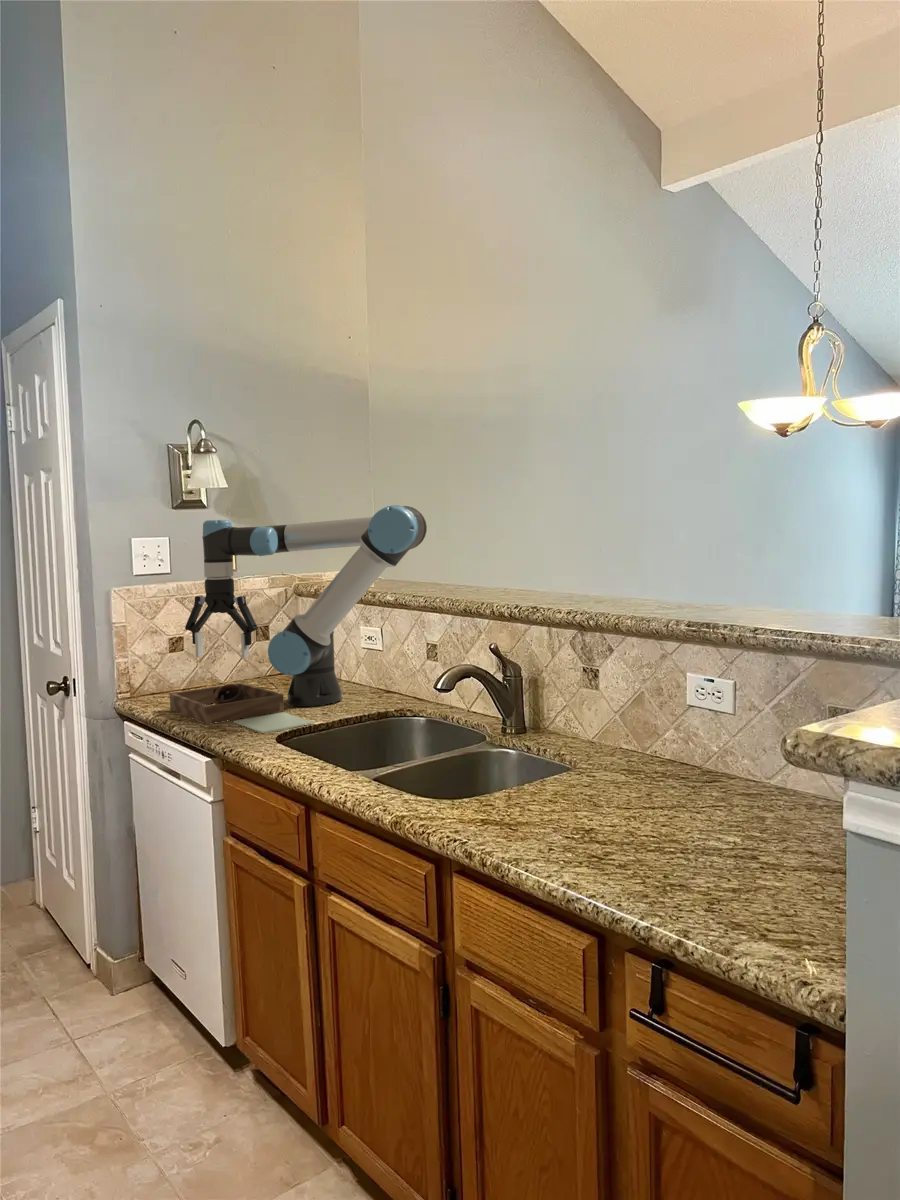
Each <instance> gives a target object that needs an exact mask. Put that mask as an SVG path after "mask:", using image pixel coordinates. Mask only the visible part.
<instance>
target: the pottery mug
mask: <svg viewBox="0 0 900 1200" xmlns="http://www.w3.org/2000/svg"><path fill="white" fill-rule="evenodd" d="M235 684H236V683H227V684H224V685H220V686H221V687H217V686H215V687H216V688H215V689H214V691H213V693H214V703H215V704H214V705H217V704H223V703H229V702H235V701H241V700H245V699H244V698H243V696H247V694H246V693H245V692H244V691H243V690H242V689H241V687H240V686H238V685H235ZM227 691H229V693H226V692H227Z"/></svg>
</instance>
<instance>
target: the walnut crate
mask: <svg viewBox="0 0 900 1200" xmlns="http://www.w3.org/2000/svg"><path fill="white" fill-rule="evenodd" d="M234 684H235V685H238V686H240V687H241V689H242V690H243V691H244V692H245V693H246V694H247V696H243V698H244V699H245V700H241V701H235V702H229V703H223V704H217V705H215V704H211V703H214V693H213V691H214V689H215V688H216V687H221V686H222V685H217V686H211V687H210V686H209V687H205V688H199V689H197V688H196V689H192V690H184V691H179V692H178V691H177V692H172V693H170V692H169V707H170V708H169V709H171V710H170V711H172V710H173V711H172V712H175V711H176V712H175V713H177V712H178V714H179V713H181V714H180V715H182V714H183V715H182V716H184V715H185V717H187V716H188V717H187V718H189V717H191V718H190V719H192V718H193V719H192V720H194V719H196V720H195V721H197V720H198V721H197V722H199V721H201V722H200V723H202V722H203V723H202V724H204V723H206V724H205V725H207V724H209V725H211V724H210V723H215V722H220V723H223V722H222V721H226V722H228V721H227V720H232V721H235V720H234V719H237V720H241V719H240V718H243V719H247V718H246V717H248V718H253V717H252V716H254V717H258V716H257V715H260V716H263V715H262V714H265V715H270V714H269V713H271V714H275V713H274V712H277V713H280V712H279V711H282V712H284V711H285V706H284V704H285V703H284V694H282V693H279V692H276V691H272V690H269V689H265V688H262V687H259V686H254V685H252V684H249V683H246V682H238V683H237V682H236V683H234ZM226 693H229V691H227V692H226ZM205 704H209V705H205ZM215 724H216V723H215Z"/></svg>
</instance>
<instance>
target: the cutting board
mask: <svg viewBox="0 0 900 1200" xmlns="http://www.w3.org/2000/svg"><path fill="white" fill-rule="evenodd" d="M235 723H237V724H236V725H238V724H239V725H238V726H240V725H242V726H241V727H243V726H245V727H244V728H246V727H247V728H246V729H248V728H250V729H249V730H251V729H252V730H251V731H253V730H255V731H254V732H256V731H258V732H257V733H259V732H260V733H259V734H261V733H266V734H270V733H275V732H280V731H285V730H284V729H287V730H290V729H289V728H292V729H294V728H293V727H297V728H299V727H298V726H301V725H305V724H311V723H314V721H311V720H307V719H305V718H301V717H298V716H296V715H294V714H289V713H286V712H284V711H282V712H277V713H271V714H265V715H260V716H254V717H248V718H243V719H237V720H233V724H235ZM314 724H315V723H314ZM269 732H270V733H269Z"/></svg>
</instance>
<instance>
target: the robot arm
mask: <svg viewBox="0 0 900 1200" xmlns="http://www.w3.org/2000/svg"><path fill="white" fill-rule="evenodd" d="M232 523H233V522H232V521H231V520H230V519H213V520H211V519H210V520H205V521H204V522H203V523H202V537H201V538H202V545H203V546H202V547H203V549H202V550H203V569H204V570H203V571H204V572H203V573H204V576H203V577H205V578H206V579H205V580H204V592H205V596H203V595H202V594H201V595H196V596H195V597H194V604H193V607H192V610H191V611H190V614H189V617H188V619H187V622H186V623H185V627H184V629H185V630H186V631H190V632H191V633H192V634H191V635H192V645H195V657H196V658H199V657H204V635H203V631H201V629H202V628H203V626H204V625H205V624H206V622H207V621H208V620H209V618H210V617H211V615H212V614H218V613H220V614H227V615H229V616H230V617H231V619H232V620H233V621H234V623H235V624H236V625H237V626H238V627H239V629H240V630H241V632H243V633H241V634H240V641H241V642H240V645H241V648H240V649H241V658H242V659H246V658H249V657H250V645H252V633H253V632H255V631H257V630H258V628H259V627H258V625H257V623H256V621H255V619H254V617H253V614H252V612H251V610H250V608H249V606H248V604H247V600H246V599H247V598H246V596H245V595H241V596H240V595H239V596H237V597H236V596H235V594H234V593H235V579H234V578H232V577H233V576H234V557H235V556H247V557H248V556H254V557H255V556H259V557H262V556H271V555H274V554H279V553H288V552H289V553H290V552H299V551H300V552H302V551H312V550H325V549H327V550H328V549H338V548H351V547H359V548H358V549H357V550H356V551H355V553H353V555H352V556H351V557H350V558H349V560H348V561H347V562H346V563H345V565H343V567H342V568H341V569H340V571H339V572H338V573H337V574H336V576H334V578H333V579H332V580H331V581H330V582H329V584H328V585H327V586H326V587H325V589H324V590H323V591H322V592H321V594H320V595H319V596H318V597H317V598H316V600H315V601H314V602H313V603H312V604H311V606H309V608H308V609H307V610H306V611H305V613H303V614H296V615H294V617H293V618H292V620H290V622H289V623H288V624H287V626H286V627H285V628H284V629H282V631H279V632H277V634H275V635H274V636H273V637H272V638H271V640H270V641H269V643H268V647H267V655H268V660H269V662H270V663H271V666H272V667H273V668H274V669H275V670H276V671H277V672H279V673H280V674H283V675H287V676H292V677H291V681H290V683H289V688H288V692H287V703H288V705H289V704H290V705H292V706H297V707H316V706H315V705H320V706H324V705H323V704H328V705H331V704H330V703H333V704H335V703H334V702H337V701H339V700H341V699H342V700H343V691H342V689H341V685H340V683H339V680H338V678H337V675H336V671H335V669H336V668H335V644H334V643H335V642H334V640H335V639H334V633H335V629H336V628H337V627H338V626H339V624H341V622H342V621H343V620H344V619H345V617H347V615H348V614H349V613H350V611H352V609H353V608H354V607H355V606H356V605H357V604H358V602H359V600H361V599H362V597H363V596H365V594H366V592H367V591H368V590H369V589H370V588H371V587H372V585H373V584H374V583H375V581H377V579H378V578H379V577H380V576H381V575H382V573H383V572H384V571H385V570H386V568H387V569H388V568H391V567H392V568H393V567H396V566H397V565H398V564H399V563H400V561H401V560H402V559H403V558H404V556H406V554H407V553H408V552H409V551H410V550H413V549H415V548H417V547H418V546H419V545H421V544H422V543H423V541H424V539H426V535H427V527H428V525H427V522H426V519H425V516H424V515H423V514H422V513H421V512H420V511H419V510H417V509H416V508H414V507H412V506H409V505H408V506H407V505H403V506H402V505H394V504H393V505H387V506H385V507H383V508H380V510H378V511H377V512H375V513H374V515H373V516H367V517H355V518H345V519H344V518H343V519H334V520H322V521H314V522H313V521H311V522H303V523H300V522H299V523H291V524H289V523H288V524H278V525H277V524H276V525H267V526H265V525H264V526H247V527H246V526H245V527H235V526H233V525H232ZM235 603H236V605H237V606H238V609H239V611H240V613H241V614H240V613H239V612H238V610H237V608H236V606H234V604H235ZM204 604H206V605H207V606H206V607H205V608H204V610H203V612H202V614H201V613H200V612H201V611H202V608H203V605H204ZM200 614H201V615H200ZM199 615H200V616H199ZM342 700H341V701H342ZM339 702H340V701H339ZM337 703H338V702H337Z"/></svg>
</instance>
